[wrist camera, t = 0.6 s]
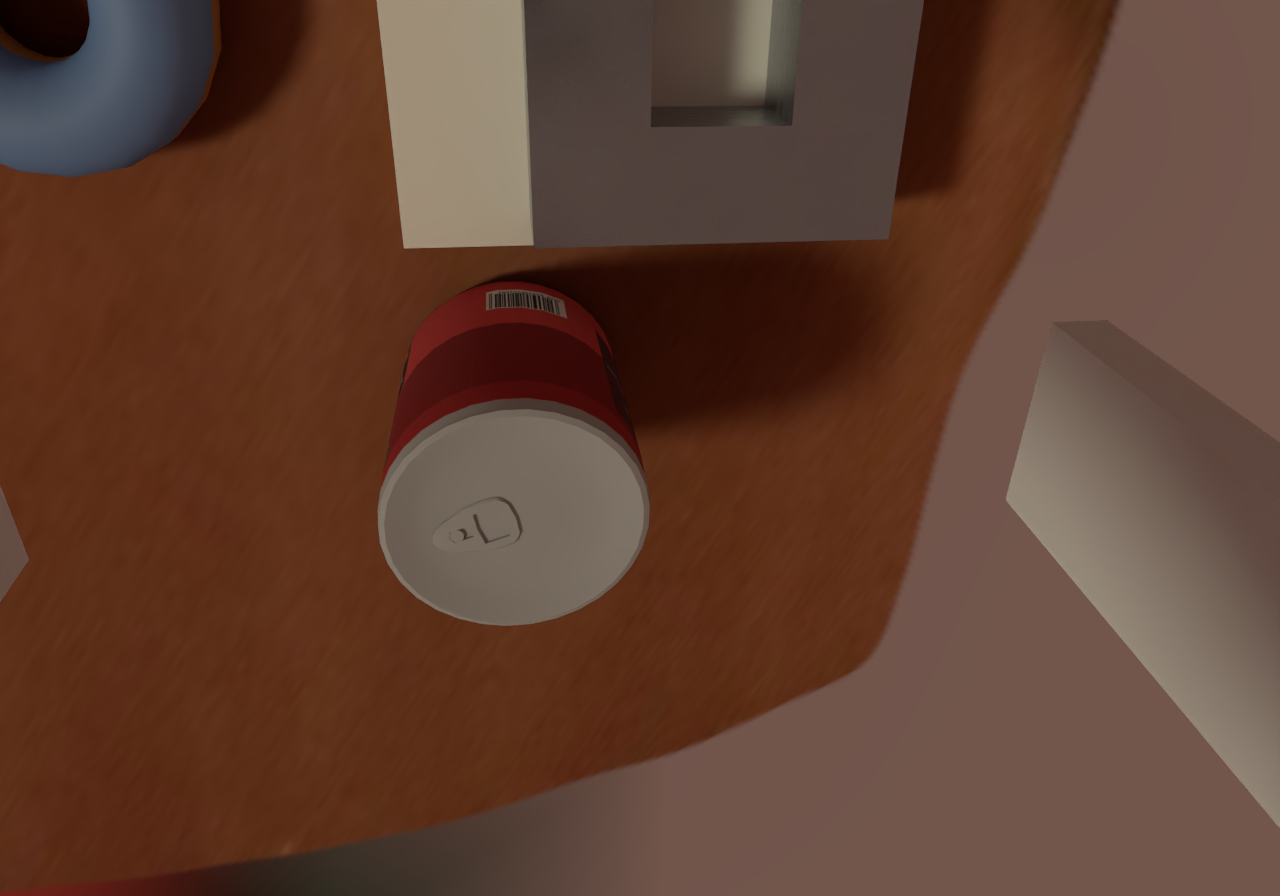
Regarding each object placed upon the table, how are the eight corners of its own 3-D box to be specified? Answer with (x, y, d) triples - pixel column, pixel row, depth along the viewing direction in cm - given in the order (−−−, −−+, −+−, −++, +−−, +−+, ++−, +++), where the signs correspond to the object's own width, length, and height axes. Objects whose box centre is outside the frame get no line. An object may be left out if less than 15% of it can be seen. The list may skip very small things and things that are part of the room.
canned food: (364, 345, 36) (317, 503, 26) (541, 231, 34) (560, 354, 25) (483, 486, 39) (480, 669, 30) (646, 388, 38) (698, 546, 29)
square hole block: (513, -188, 28) (515, -199, 25) (904, -175, 29) (951, -185, 26) (530, 217, 34) (533, 248, 31) (854, 210, 35) (888, 239, 32)
